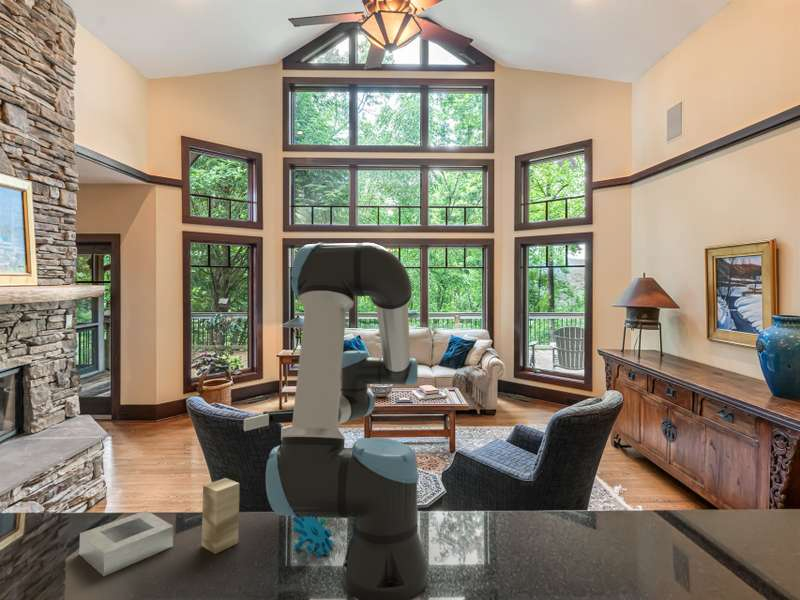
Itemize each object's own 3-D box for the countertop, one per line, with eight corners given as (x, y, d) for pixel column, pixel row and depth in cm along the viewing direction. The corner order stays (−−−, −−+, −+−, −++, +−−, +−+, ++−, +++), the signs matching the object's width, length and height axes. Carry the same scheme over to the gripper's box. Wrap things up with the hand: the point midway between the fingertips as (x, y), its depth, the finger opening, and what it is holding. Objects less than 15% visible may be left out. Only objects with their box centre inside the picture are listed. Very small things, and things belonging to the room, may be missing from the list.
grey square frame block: (172, 546, 83) (173, 526, 83) (103, 576, 73) (104, 553, 74) (145, 529, 90) (146, 510, 90) (79, 554, 80) (79, 533, 80)
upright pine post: (238, 542, 85) (239, 483, 85) (215, 554, 80) (216, 491, 81) (224, 535, 87) (225, 477, 88) (201, 545, 83) (203, 485, 84)
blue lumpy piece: (319, 560, 76) (289, 513, 79) (297, 581, 76) (268, 534, 79) (344, 538, 86) (316, 498, 89) (324, 557, 86) (297, 516, 90)
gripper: (365, 433, 103) (299, 457, 86) (298, 419, 117) (230, 437, 100) (365, 403, 103) (300, 420, 86) (298, 393, 118) (231, 406, 100)
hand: (262, 429), depth 93 cm, fingers open, 13 cm apart
